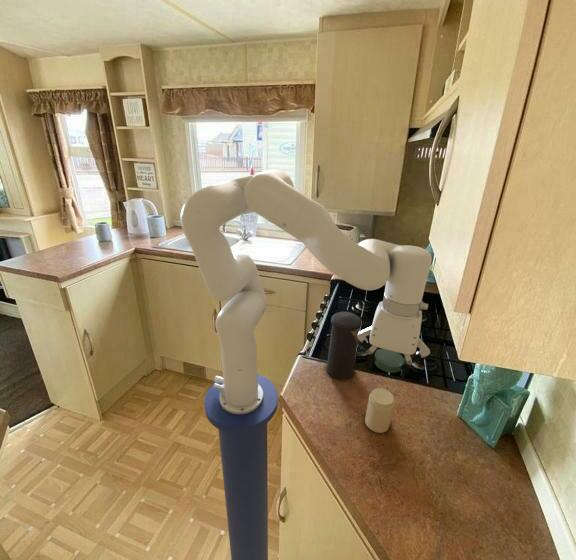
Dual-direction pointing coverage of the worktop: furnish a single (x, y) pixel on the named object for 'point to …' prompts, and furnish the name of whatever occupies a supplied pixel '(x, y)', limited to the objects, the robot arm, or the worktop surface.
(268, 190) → the robot arm
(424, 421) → the worktop surface
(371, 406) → the jam jar
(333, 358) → the container
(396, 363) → the jam lid
